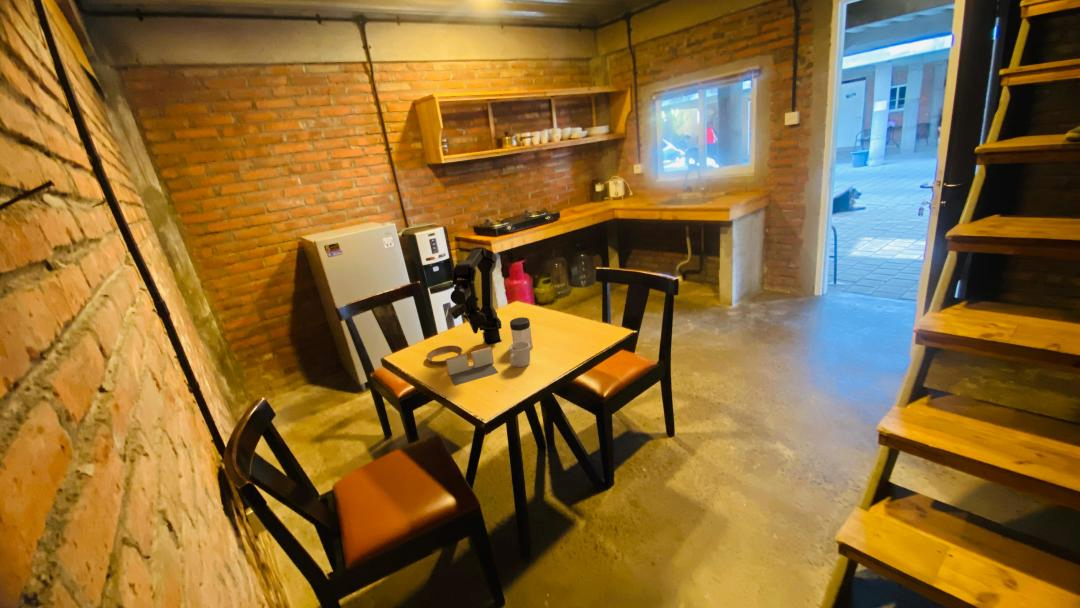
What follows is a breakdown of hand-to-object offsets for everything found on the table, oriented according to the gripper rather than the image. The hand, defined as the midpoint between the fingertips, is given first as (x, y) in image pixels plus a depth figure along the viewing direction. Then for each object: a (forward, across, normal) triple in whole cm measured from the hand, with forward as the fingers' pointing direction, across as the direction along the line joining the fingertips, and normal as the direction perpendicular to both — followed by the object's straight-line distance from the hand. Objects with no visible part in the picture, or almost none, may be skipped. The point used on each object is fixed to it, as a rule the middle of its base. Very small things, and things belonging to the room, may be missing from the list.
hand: (475, 332), depth 179 cm
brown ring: (+12, -10, -12) cm, 20 cm away
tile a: (+12, +6, 0) cm, 13 cm away
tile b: (+12, +6, -10) cm, 17 cm away
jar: (+12, 0, +19) cm, 23 cm away
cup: (+12, +14, +12) cm, 22 cm away
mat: (+12, +10, -6) cm, 16 cm away
